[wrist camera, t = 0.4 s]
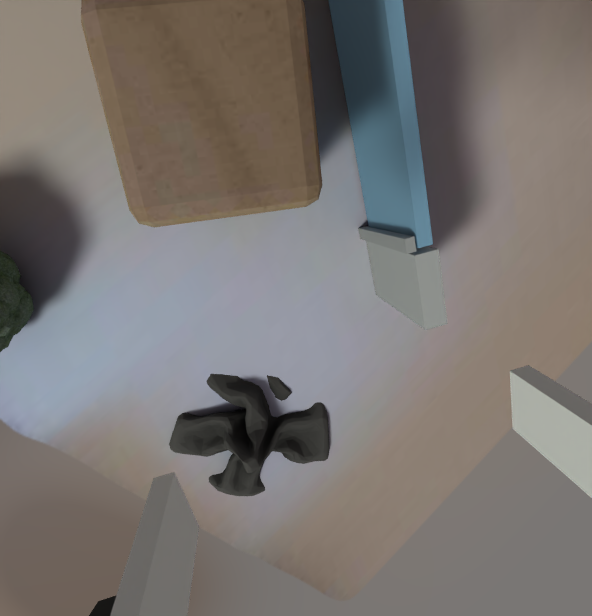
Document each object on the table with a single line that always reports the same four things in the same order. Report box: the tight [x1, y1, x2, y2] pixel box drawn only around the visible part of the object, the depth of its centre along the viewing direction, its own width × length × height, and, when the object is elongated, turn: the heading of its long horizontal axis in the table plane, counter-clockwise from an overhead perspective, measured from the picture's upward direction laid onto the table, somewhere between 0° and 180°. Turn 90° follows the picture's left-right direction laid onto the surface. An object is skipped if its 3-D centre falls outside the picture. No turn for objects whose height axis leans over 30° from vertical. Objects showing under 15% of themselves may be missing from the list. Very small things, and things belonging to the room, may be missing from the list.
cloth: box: [169, 374, 329, 496], centre depth 42 cm, size 22×19×6 cm
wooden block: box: [81, 0, 322, 227], centre depth 26 cm, size 10×10×20 cm
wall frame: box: [358, 226, 447, 330], centre depth 29 cm, size 41×3×13 cm, turn 14°
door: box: [328, 0, 433, 248], centre depth 29 cm, size 27×3×12 cm, turn 14°
